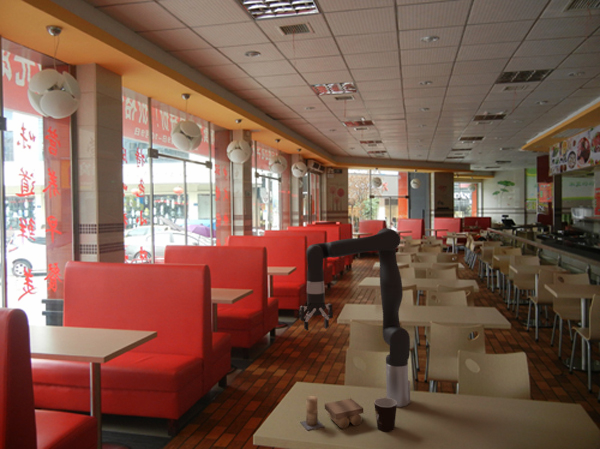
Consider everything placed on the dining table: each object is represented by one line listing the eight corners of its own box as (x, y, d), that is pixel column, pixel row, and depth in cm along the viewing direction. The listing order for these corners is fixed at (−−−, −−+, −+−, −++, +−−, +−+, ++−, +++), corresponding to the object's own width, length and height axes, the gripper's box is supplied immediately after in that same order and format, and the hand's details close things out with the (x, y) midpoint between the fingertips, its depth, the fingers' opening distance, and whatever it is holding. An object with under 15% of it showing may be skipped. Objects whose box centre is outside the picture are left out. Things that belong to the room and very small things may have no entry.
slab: (351, 413, 191) (351, 398, 191) (363, 424, 182) (363, 408, 182) (324, 419, 187) (324, 403, 186) (336, 430, 177) (335, 414, 177)
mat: (316, 419, 187) (316, 418, 187) (324, 426, 180) (323, 425, 180) (300, 422, 184) (300, 421, 184) (307, 430, 178) (307, 429, 178)
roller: (314, 420, 185) (314, 395, 185) (319, 424, 181) (319, 399, 181) (304, 422, 184) (304, 397, 183) (309, 426, 180) (309, 401, 179)
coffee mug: (397, 434, 173) (397, 407, 173) (374, 432, 175) (373, 406, 175) (397, 420, 185) (396, 395, 184) (375, 418, 186) (374, 393, 186)
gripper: (302, 294, 192) (303, 333, 193) (334, 291, 196) (335, 329, 197) (297, 291, 199) (298, 328, 200) (328, 288, 203) (329, 325, 204)
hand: (316, 329), depth 198 cm, fingers open, 8 cm apart
